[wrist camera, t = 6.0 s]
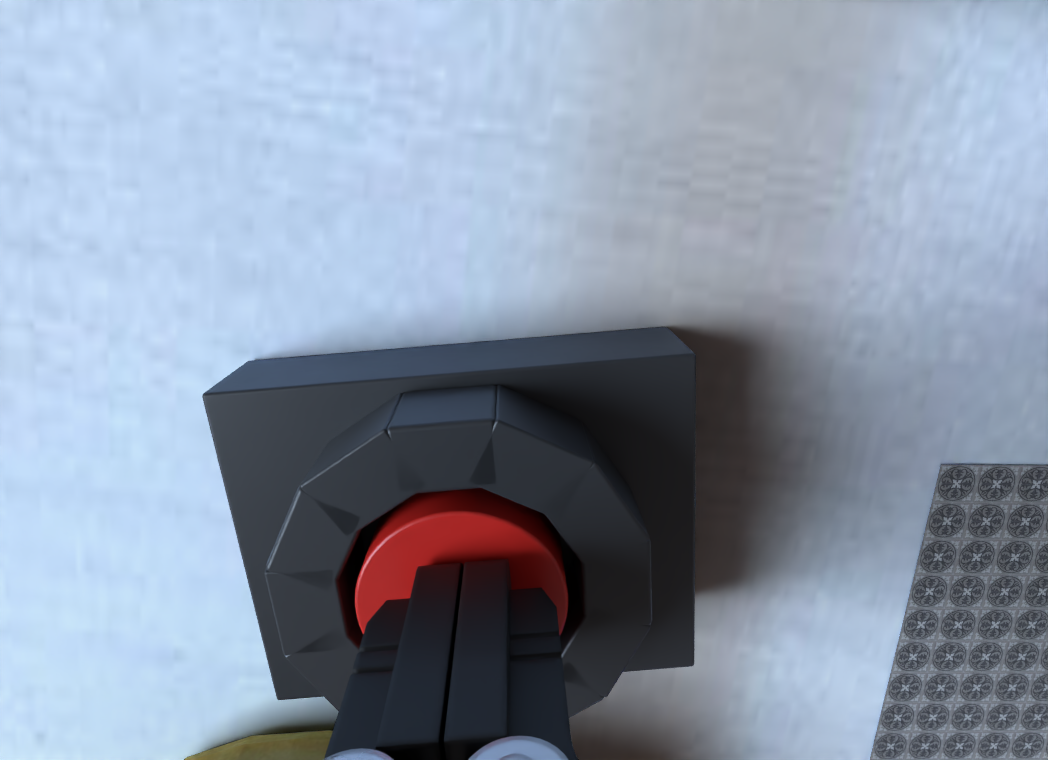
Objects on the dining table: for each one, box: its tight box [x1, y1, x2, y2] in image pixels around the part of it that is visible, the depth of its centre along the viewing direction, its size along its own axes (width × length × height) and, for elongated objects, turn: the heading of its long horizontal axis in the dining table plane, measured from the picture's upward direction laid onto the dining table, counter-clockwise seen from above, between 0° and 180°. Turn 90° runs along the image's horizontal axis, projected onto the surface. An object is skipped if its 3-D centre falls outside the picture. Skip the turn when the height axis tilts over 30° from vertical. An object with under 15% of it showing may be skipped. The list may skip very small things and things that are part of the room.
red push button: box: [355, 488, 568, 635], centre depth 12 cm, size 4×4×2 cm
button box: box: [203, 327, 696, 718], centre depth 13 cm, size 9×7×4 cm
